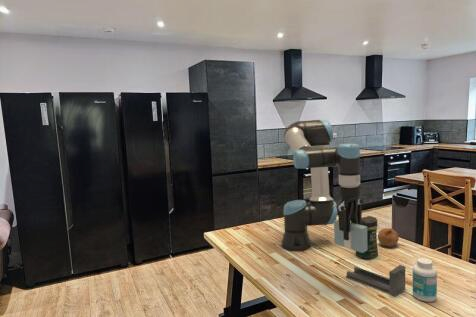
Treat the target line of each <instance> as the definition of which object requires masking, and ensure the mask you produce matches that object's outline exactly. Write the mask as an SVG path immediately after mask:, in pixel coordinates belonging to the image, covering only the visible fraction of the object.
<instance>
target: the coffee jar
mask: <svg viewBox="0 0 476 317" xmlns="http://www.w3.org/2000/svg"><path fill="white" fill-rule="evenodd" d="M358 222H359V221H358ZM361 225H362V226H366V227H367V251H365V252H363V253H361V252H358V251H355V255H356V256H357V257H358V258H361V259H366V260H369V259H373V258H376V257H377V256H378V255H379V250H378V241H377V240H378V235H377V233H378V232H377V230H378V226H379V225H378V219H377V218H376V217H374V216H372V215H368V216H364V217H362V219H361Z"/></svg>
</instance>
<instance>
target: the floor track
mask: <svg viewBox="0 0 476 317" xmlns="http://www.w3.org/2000/svg"><path fill="white" fill-rule="evenodd" d="M353 270H354V271H350V270H348V271H347V270H346V276H345V278H346V279H349V280H351V281H354V282H357V283H358V284H360V285H361V284H362V285H364V286H366V287H369V288H372V289H373V290H374V289H375V290H377V291H380V292H382V293H385V294H387V295H390V296H393V297H396V296H398V295H399V294H401V293H402V292H403V291H405V289H406V266H404V265H402V264H399V265H397V266H396V267H395V268H393V269H392V270H390V271H389V272H388V273H389V274H388V276H389V277H387V276H383V275H382V274H381V275H380V274H378V273H375V272H372V271H369V270H366V269H364V268H360V267H358V266H355V267H353Z"/></svg>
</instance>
